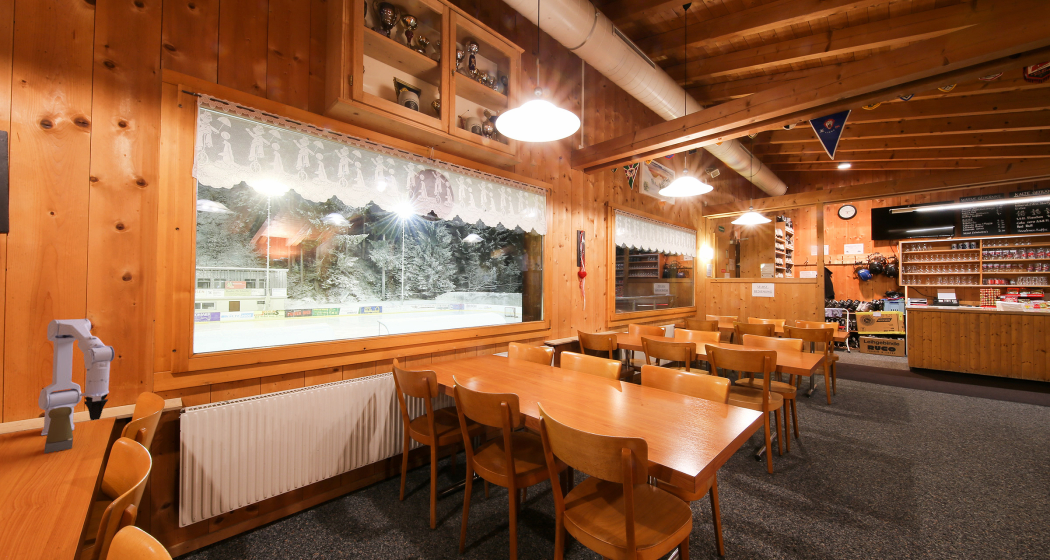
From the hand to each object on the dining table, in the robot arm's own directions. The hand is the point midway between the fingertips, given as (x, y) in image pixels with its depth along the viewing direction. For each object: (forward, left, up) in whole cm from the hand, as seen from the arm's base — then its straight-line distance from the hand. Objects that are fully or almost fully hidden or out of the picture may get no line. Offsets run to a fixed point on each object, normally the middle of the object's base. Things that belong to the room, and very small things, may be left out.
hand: (95, 417), depth 139 cm
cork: (+2, -8, -6) cm, 10 cm away
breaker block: (+2, -8, -9) cm, 12 cm away
